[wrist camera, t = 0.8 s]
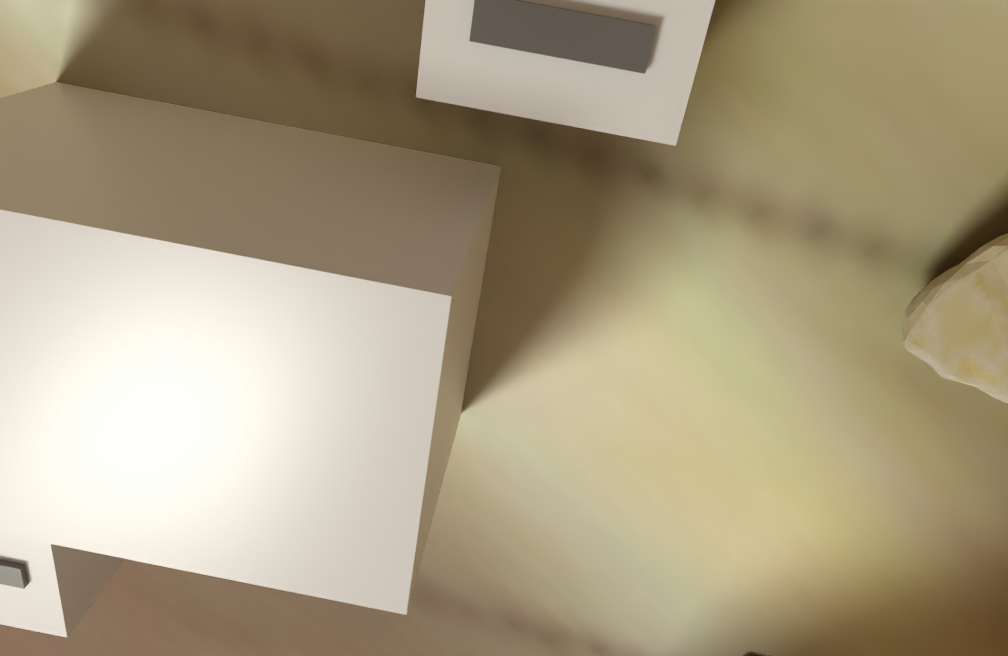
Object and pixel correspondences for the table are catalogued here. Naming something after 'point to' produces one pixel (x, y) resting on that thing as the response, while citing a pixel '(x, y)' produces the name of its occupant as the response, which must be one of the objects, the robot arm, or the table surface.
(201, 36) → the table surface
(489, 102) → the white marked cube
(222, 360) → the plain grey block
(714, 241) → the table surface
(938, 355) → the cheese
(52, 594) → the striped block one
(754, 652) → the robot arm
